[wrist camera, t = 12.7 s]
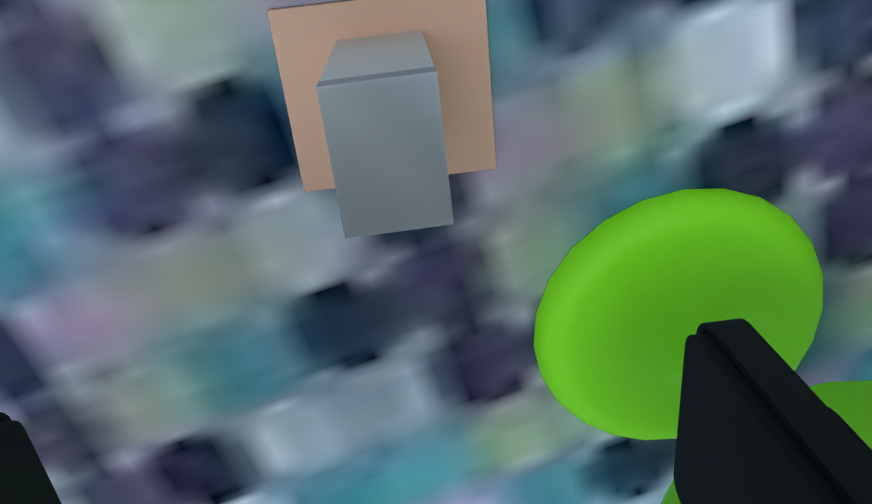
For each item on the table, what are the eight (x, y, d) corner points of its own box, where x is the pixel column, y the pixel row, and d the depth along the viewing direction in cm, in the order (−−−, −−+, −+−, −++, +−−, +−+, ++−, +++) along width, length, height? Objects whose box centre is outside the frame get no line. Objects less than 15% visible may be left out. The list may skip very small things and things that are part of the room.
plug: (435, 143, 30) (453, 224, 22) (355, 153, 30) (345, 238, 22) (421, 28, 28) (437, 71, 20) (335, 39, 28) (315, 87, 20)
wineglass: (620, 143, 31) (871, 375, 15) (882, 244, 35) (1309, 520, 19) (487, 397, 38) (563, 753, 21) (720, 462, 41) (935, 807, 25)
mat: (494, 164, 31) (496, 168, 31) (305, 187, 31) (304, 192, 31) (482, -16, 28) (484, -15, 27) (269, 9, 27) (266, 10, 27)
